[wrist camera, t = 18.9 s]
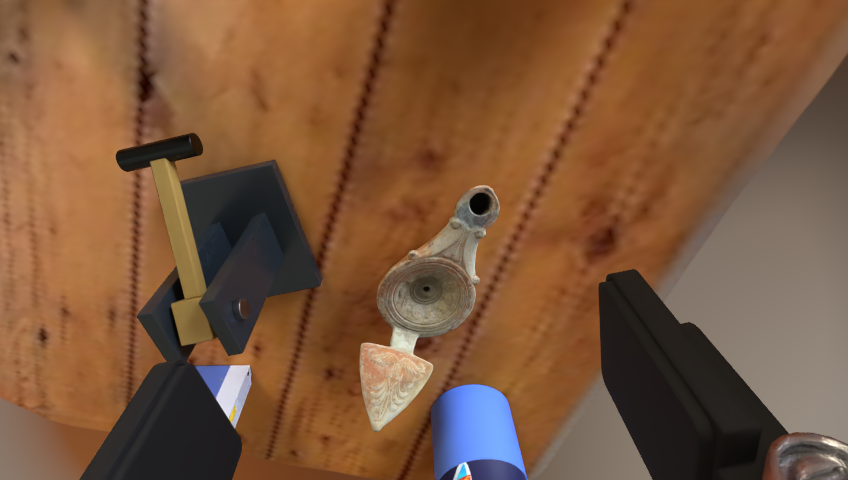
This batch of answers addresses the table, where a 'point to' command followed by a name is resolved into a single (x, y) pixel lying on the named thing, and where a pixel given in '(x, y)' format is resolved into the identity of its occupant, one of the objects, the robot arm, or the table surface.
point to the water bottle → (475, 436)
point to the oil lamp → (424, 305)
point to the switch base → (235, 256)
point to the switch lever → (176, 227)
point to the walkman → (228, 387)
